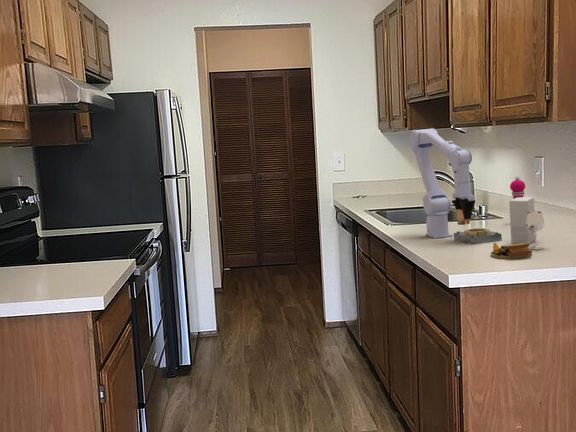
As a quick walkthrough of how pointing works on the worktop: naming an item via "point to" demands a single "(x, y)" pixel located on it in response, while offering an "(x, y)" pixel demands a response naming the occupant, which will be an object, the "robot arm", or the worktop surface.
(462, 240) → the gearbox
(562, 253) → the worktop surface
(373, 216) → the worktop surface
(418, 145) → the robot arm
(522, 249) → the toy sandwich meal
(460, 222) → the copper spout can
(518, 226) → the skincare box
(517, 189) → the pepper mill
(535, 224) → the wineglass
